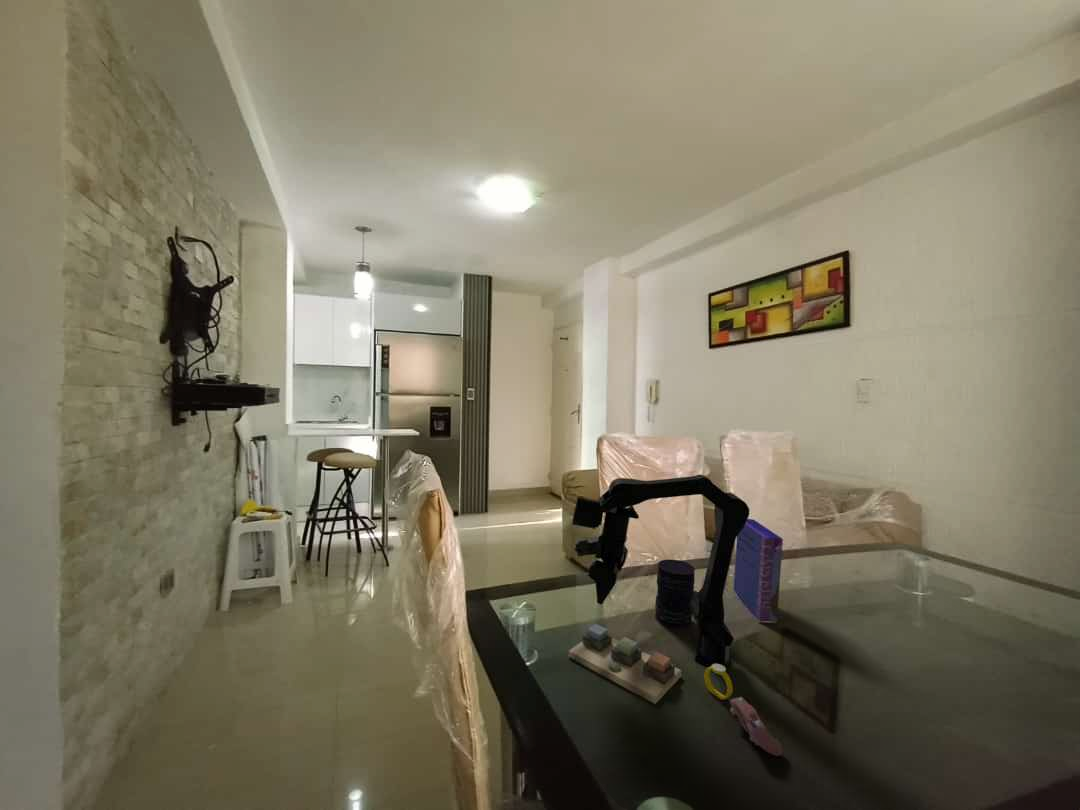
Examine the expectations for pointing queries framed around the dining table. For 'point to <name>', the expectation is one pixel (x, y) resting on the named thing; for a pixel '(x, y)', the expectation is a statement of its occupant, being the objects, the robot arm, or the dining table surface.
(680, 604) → the storage jar
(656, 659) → the terracotta button
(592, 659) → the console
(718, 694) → the gold ring
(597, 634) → the slate button
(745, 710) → the pink shoe
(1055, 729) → the dining table surface
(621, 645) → the sage button
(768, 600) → the cereal box
